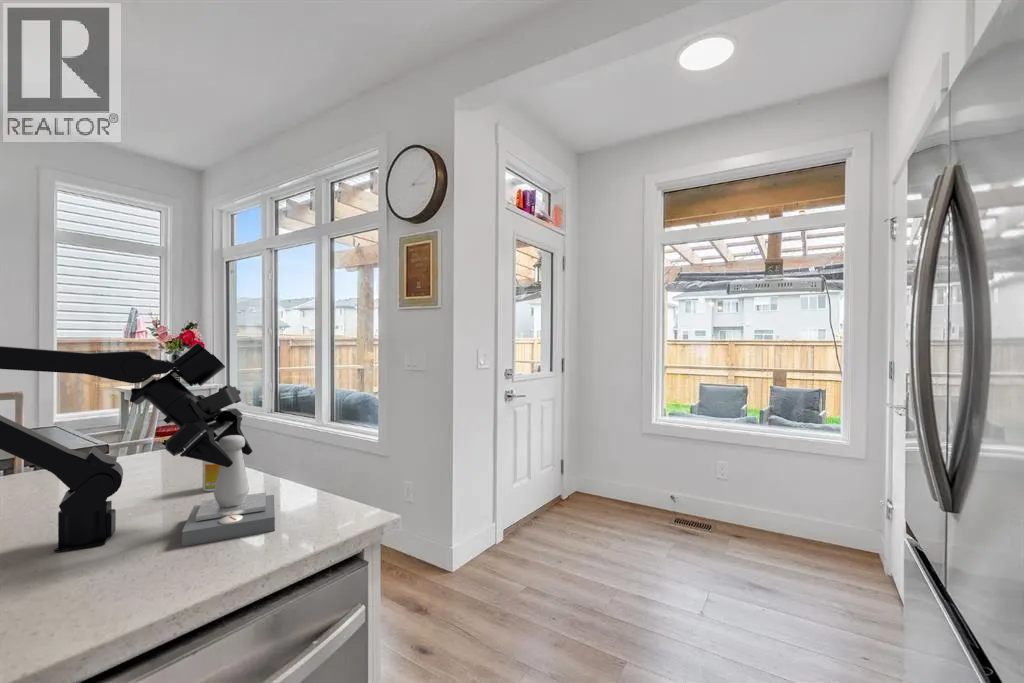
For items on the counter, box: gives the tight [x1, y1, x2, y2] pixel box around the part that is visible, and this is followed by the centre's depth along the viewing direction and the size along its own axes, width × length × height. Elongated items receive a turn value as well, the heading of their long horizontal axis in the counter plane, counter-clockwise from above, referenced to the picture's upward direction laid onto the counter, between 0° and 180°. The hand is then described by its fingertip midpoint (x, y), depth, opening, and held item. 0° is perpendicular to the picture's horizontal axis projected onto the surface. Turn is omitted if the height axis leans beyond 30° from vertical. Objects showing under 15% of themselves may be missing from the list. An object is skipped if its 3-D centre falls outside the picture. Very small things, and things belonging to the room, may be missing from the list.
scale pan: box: [196, 492, 267, 521], centre depth 88 cm, size 11×9×1 cm
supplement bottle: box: [202, 461, 220, 492], centre depth 108 cm, size 5×5×10 cm
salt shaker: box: [213, 435, 250, 507], centre depth 88 cm, size 6×6×13 cm
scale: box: [181, 494, 276, 547], centre depth 87 cm, size 14×14×3 cm
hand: (241, 459), depth 88 cm, fingers open, 9 cm apart
